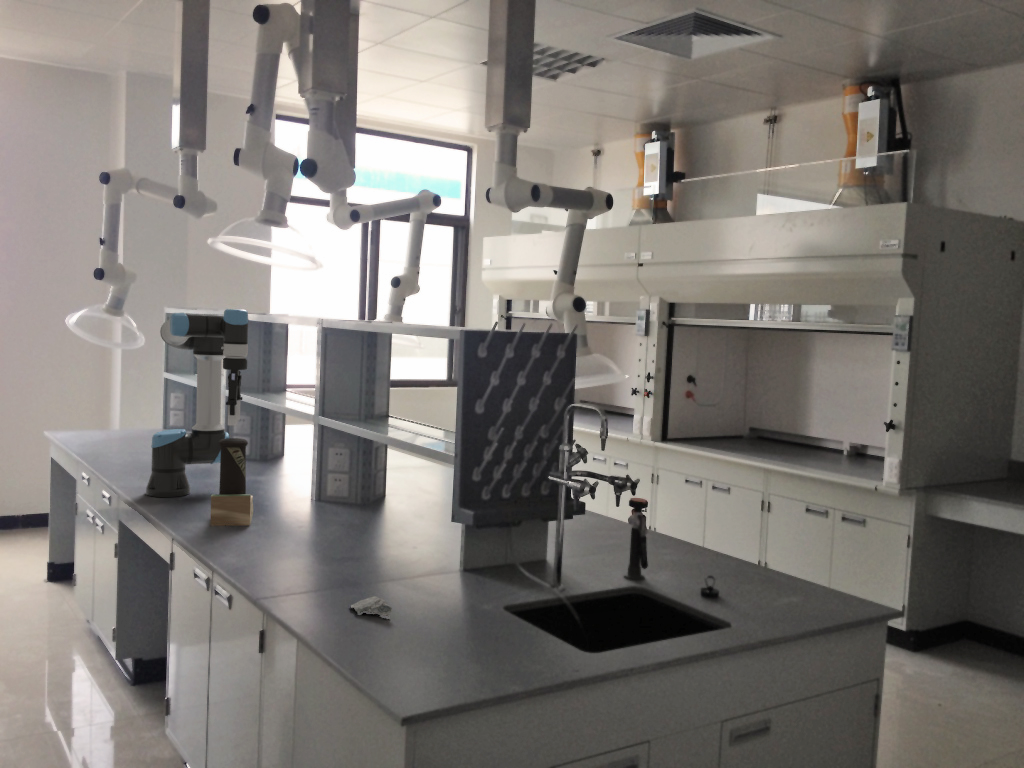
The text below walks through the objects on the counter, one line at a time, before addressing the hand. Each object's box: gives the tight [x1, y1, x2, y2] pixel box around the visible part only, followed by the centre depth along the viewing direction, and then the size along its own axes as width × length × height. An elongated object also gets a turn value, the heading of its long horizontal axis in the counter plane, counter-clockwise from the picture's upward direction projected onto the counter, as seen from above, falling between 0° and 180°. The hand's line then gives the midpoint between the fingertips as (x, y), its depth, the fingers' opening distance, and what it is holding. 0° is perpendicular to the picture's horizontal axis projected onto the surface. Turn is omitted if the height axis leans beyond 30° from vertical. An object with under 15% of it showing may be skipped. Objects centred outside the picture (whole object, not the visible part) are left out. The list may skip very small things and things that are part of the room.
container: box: [218, 437, 249, 495], centre depth 291 cm, size 9×9×20 cm
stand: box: [210, 493, 254, 527], centre depth 293 cm, size 17×12×10 cm
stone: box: [350, 595, 393, 617], centre depth 207 cm, size 6×12×4 cm, turn 33°
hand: (233, 422), depth 290 cm, fingers open, 13 cm apart
